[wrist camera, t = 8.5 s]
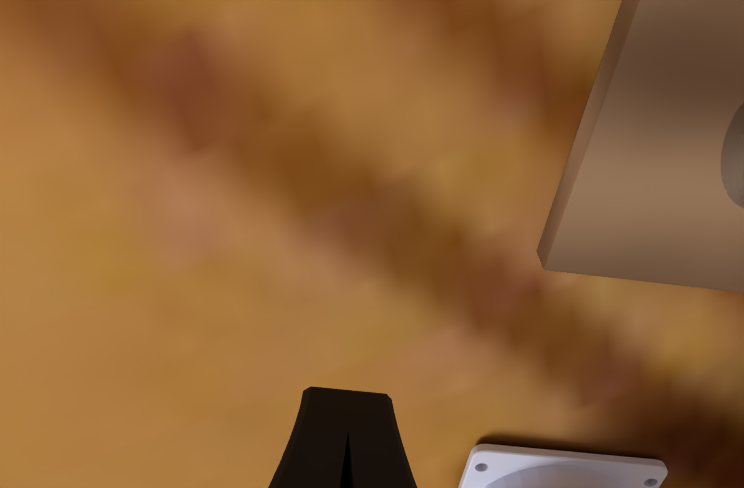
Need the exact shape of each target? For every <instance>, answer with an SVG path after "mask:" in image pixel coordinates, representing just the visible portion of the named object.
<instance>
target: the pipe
mask: <svg viewBox="0 0 744 488" xmlns="http://www.w3.org/2000/svg"><path fill="white" fill-rule="evenodd" d="M721 177H722V182H723V185H724V188H725V190H726V193H727V194H728V196H729V197H730V199H731V200H732V201H733V202H734V203H735V204H737V205H738V206H740V207H742V208H744V102H743V103H742V104H741V106H740V107H739V108H738V110H737V112H736V113H735V115H734V117H733V118H732V120H731V122H730V125H729V127H728V129H727V132H726V135H725V138H724V142H723V146H722V152H721Z"/></svg>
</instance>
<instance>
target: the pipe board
mask: <svg viewBox="0 0 744 488" xmlns="http://www.w3.org/2000/svg"><path fill="white" fill-rule="evenodd" d="M743 102H744V0H622V3H621V6H620V9H619V12H618V15H617V18H616V21H615V23H614V26H613V29H612V32H611V35H610V38H609V41H608V44H607V47H606V50H605V53H604V56H603V59H602V61H601V64H600V67H599V70H598V73H597V76H596V79H595V82H594V85H593V88H592V91H591V94H590V97H589V99H588V102H587V105H586V108H585V111H584V114H583V117H582V120H581V123H580V126H579V129H578V132H577V135H576V138H575V140H574V143H573V146H572V149H571V152H570V155H569V158H568V161H567V164H566V167H565V170H564V173H563V176H562V178H561V181H560V184H559V187H558V190H557V193H556V196H555V199H554V202H553V205H552V208H551V211H550V214H549V216H548V219H547V222H546V225H545V228H544V231H543V234H542V237H541V240H540V243H539V246H538V249H537V253H538V256H539V259H540V261H541V264H542V266H543V269H544V270H550V271H558V272H567V273H576V274H585V275H594V276H602V277H611V278H620V279H629V280H637V281H646V282H655V283H664V284H673V285H681V286H690V287H699V288H708V289H716V290H725V291H734V292H743V293H744V208H742V207H740V206H738V205H737V204H735V203H734V202H733V201H732V200H731V199H730V197H729V196H728V194H727V193H726V190H725V188H724V185H723V182H722V177H721V152H722V146H723V142H724V138H725V135H726V132H727V129H728V127H729V125H730V122H731V120H732V118H733V117H734V115H735V113H736V112H737V110H738V108H739V107H740V106H741V104H742V103H743Z"/></svg>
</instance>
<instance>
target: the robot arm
mask: <svg viewBox="0 0 744 488" xmlns="http://www.w3.org/2000/svg"><path fill="white" fill-rule="evenodd" d="M667 473H668V471H667V468H666V466H665V464H664V462H662V461H660V460H656V459H646V458H635V457H624V456H613V455H602V454H592V453H581V452H570V451H559V450H548V449H537V448H527V447H516V446H505V445H494V444H479V445H477V446H475V447H474V448H473V449H472V450H471V452H470V455H469V458H468V461H467V464H466V467H465V470H464V472H463V475H462V478H461V481H460V484H459V487H458V488H659V487H660V485H661V484H662V482H663V480H664V479H665V477H666V476H667ZM268 488H417V486H416V483H415V480H414V478H413V475H412V472H411V469H410V466H409V463H408V460H407V456H406V453H405V450H404V447H403V444H402V440H401V437H400V433H399V430H398V426H397V422H396V418H395V414H394V409H393V404H392V400H391V398H390V397H389V396H388V395H387V394H382V393H372V392H362V391H351V390H341V389H331V388H321V387H309V388H308V389H306V390H304V391H303V395H302V400H301V405H300V409H299V412H298V416H297V419H296V422H295V425H294V428H293V431H292V434H291V436H290V439H289V442H288V444H287V446H286V449H285V451H284V454H283V456H282V459H281V461H280V464H279V466H278V468H277V470H276V472H275V474H274V477H273V479H272V481H271V483H270V485H269V487H268Z"/></svg>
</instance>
